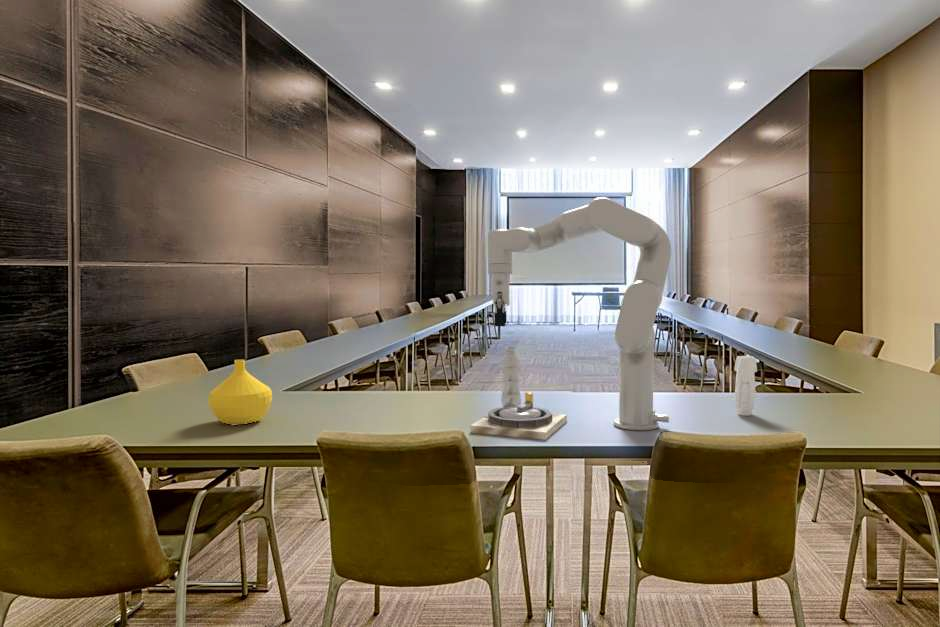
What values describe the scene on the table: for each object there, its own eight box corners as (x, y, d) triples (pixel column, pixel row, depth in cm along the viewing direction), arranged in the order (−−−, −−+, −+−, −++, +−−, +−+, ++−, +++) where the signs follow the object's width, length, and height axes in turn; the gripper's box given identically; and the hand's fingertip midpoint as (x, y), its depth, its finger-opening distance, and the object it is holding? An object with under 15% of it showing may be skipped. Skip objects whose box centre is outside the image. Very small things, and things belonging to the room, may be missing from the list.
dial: (533, 425, 175) (533, 404, 174) (493, 421, 180) (493, 401, 179) (549, 413, 189) (549, 393, 189) (511, 410, 194) (511, 391, 193)
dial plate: (566, 421, 188) (566, 408, 188) (545, 439, 168) (545, 425, 168) (497, 415, 197) (497, 402, 197) (469, 432, 177) (469, 418, 177)
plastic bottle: (520, 410, 204) (519, 349, 203) (499, 409, 206) (498, 348, 204) (522, 405, 211) (522, 346, 209) (502, 405, 212) (501, 346, 211)
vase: (202, 430, 183) (199, 365, 182) (217, 416, 201) (215, 357, 200) (268, 427, 186) (265, 363, 184) (277, 413, 204) (275, 355, 202)
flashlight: (733, 411, 199) (732, 415, 193) (734, 354, 198) (733, 357, 192) (756, 412, 197) (756, 417, 190) (757, 355, 195) (757, 358, 189)
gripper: (511, 269, 186) (512, 327, 187) (512, 269, 203) (513, 322, 204) (486, 269, 187) (486, 327, 188) (489, 269, 204) (490, 322, 205)
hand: (500, 324), depth 196 cm, fingers open, 9 cm apart
